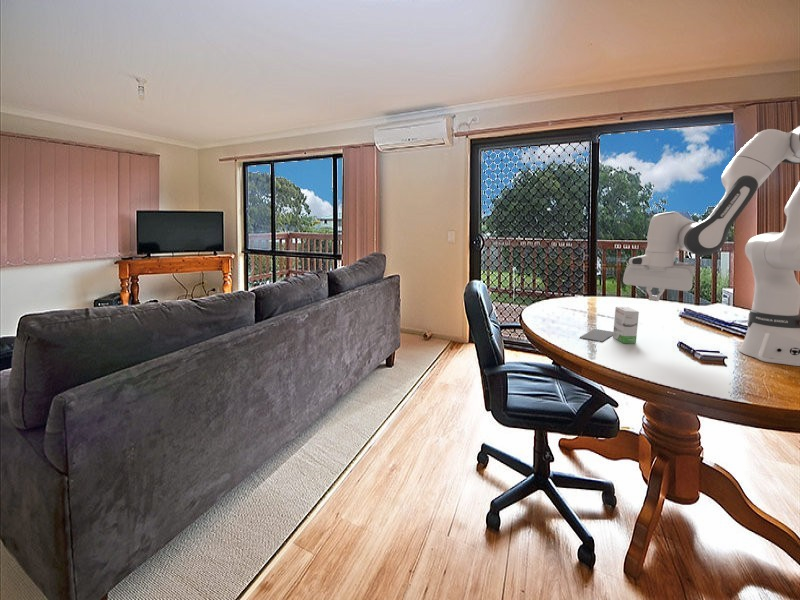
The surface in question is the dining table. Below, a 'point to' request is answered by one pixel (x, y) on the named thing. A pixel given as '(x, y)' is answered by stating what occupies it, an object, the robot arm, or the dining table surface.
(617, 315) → the ink box
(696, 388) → the dining table surface
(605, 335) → the mat
